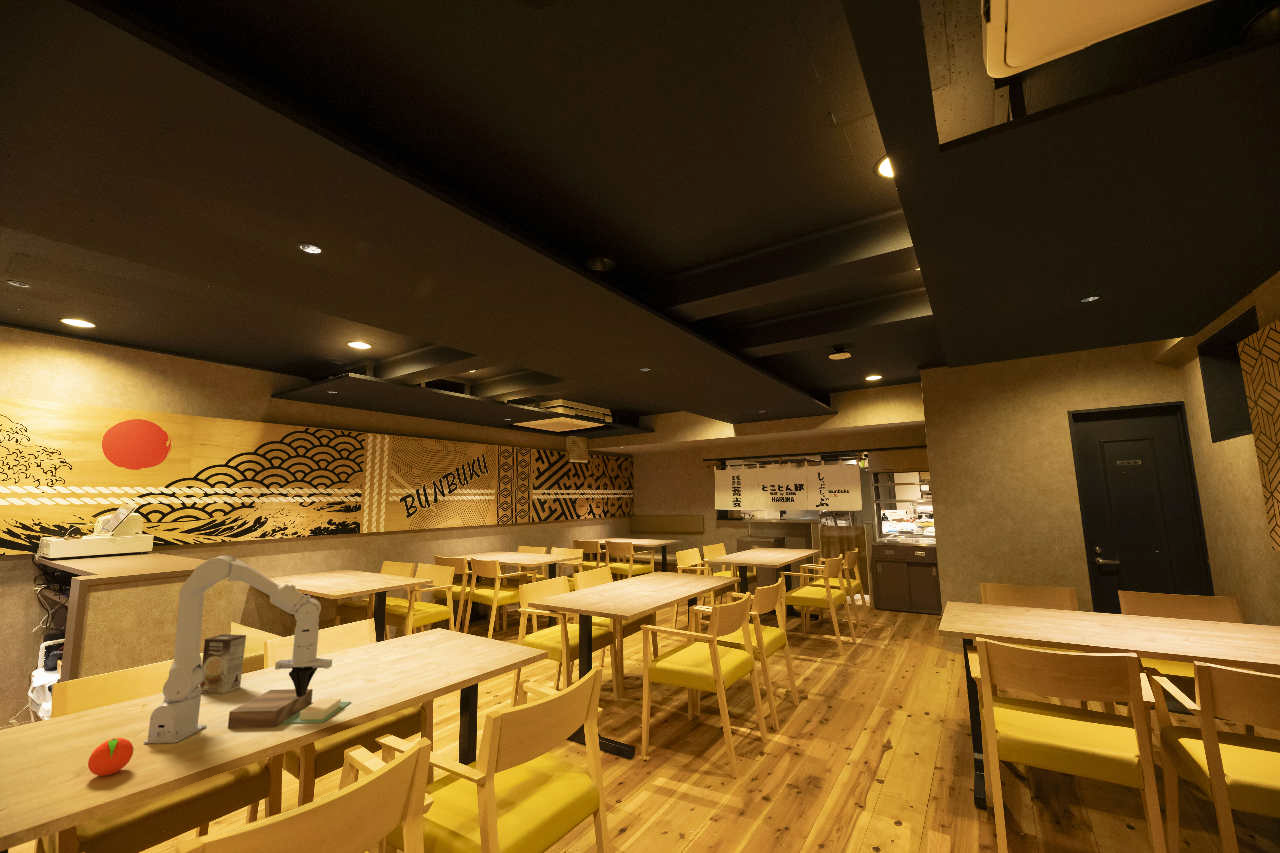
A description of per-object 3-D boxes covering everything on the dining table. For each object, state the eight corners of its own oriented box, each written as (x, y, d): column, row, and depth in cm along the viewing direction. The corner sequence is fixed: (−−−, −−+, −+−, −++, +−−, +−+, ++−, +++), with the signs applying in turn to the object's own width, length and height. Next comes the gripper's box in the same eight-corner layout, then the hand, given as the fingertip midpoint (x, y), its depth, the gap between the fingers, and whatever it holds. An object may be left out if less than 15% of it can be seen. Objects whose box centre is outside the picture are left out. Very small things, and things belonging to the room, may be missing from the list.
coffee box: (196, 693, 159) (203, 638, 162) (215, 686, 166) (221, 633, 168) (224, 694, 158) (229, 639, 161) (241, 686, 165) (247, 634, 167)
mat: (323, 722, 137) (323, 721, 137) (280, 723, 136) (281, 722, 136) (350, 702, 151) (350, 701, 151) (312, 703, 150) (312, 702, 150)
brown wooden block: (274, 727, 134) (276, 710, 135) (227, 728, 134) (229, 711, 135) (311, 703, 150) (312, 688, 151) (269, 704, 150) (270, 689, 150)
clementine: (131, 775, 111) (135, 740, 112) (84, 788, 106) (89, 750, 107) (131, 762, 116) (135, 728, 117) (86, 774, 111) (91, 738, 113)
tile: (299, 711, 139) (299, 719, 138) (322, 711, 139) (321, 719, 138) (319, 699, 147) (318, 706, 147) (340, 698, 148) (340, 706, 147)
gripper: (339, 640, 149) (335, 690, 147) (288, 641, 149) (284, 690, 147) (325, 646, 142) (321, 699, 140) (272, 647, 142) (267, 700, 140)
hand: (301, 695), depth 143 cm, fingers closed
